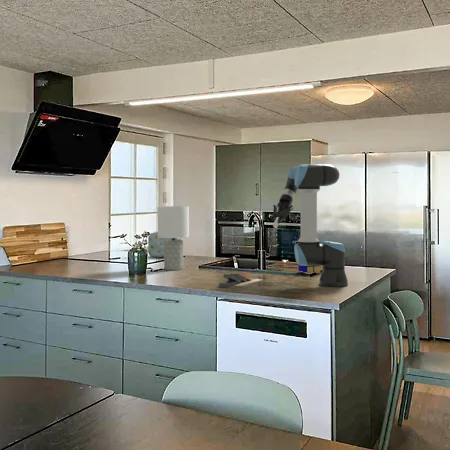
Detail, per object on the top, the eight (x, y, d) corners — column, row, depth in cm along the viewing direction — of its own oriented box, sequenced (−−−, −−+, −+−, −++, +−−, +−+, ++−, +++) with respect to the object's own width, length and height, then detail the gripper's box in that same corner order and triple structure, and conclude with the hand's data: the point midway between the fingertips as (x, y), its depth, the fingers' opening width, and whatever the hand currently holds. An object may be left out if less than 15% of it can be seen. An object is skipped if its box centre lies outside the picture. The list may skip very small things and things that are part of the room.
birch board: (263, 280, 300) (263, 279, 300) (241, 287, 279) (241, 286, 278) (242, 278, 307) (242, 277, 307) (219, 285, 286) (219, 283, 286)
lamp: (189, 266, 361) (189, 206, 358) (188, 271, 340) (188, 206, 338) (159, 267, 360) (158, 206, 358) (156, 271, 339) (155, 206, 337)
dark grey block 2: (239, 277, 295) (230, 273, 287) (247, 278, 292) (238, 274, 284) (238, 281, 294) (229, 276, 286) (246, 281, 292) (237, 277, 284)
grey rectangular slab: (233, 278, 289) (224, 274, 281) (241, 279, 287) (232, 274, 279) (232, 282, 289) (223, 277, 281) (240, 282, 286) (231, 278, 278)
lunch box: (183, 256, 420) (183, 230, 419) (178, 258, 410) (178, 231, 409) (152, 256, 428) (152, 229, 427) (147, 257, 418) (146, 230, 417)
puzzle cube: (298, 272, 331) (298, 256, 331) (311, 271, 335) (311, 255, 335) (306, 274, 322) (306, 258, 321) (320, 273, 326) (320, 257, 325)
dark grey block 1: (228, 280, 285) (219, 283, 277) (236, 281, 283) (227, 283, 274) (228, 283, 286) (219, 286, 277) (236, 284, 283) (227, 287, 274)
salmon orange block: (244, 276, 300) (235, 272, 292) (251, 277, 297) (243, 272, 289) (243, 279, 299) (235, 275, 291) (251, 280, 297) (243, 276, 289)
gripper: (298, 202, 321) (287, 231, 307) (279, 202, 327) (267, 230, 314) (295, 193, 316) (283, 222, 302) (275, 193, 323) (262, 222, 309)
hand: (274, 226), depth 308 cm, fingers closed
